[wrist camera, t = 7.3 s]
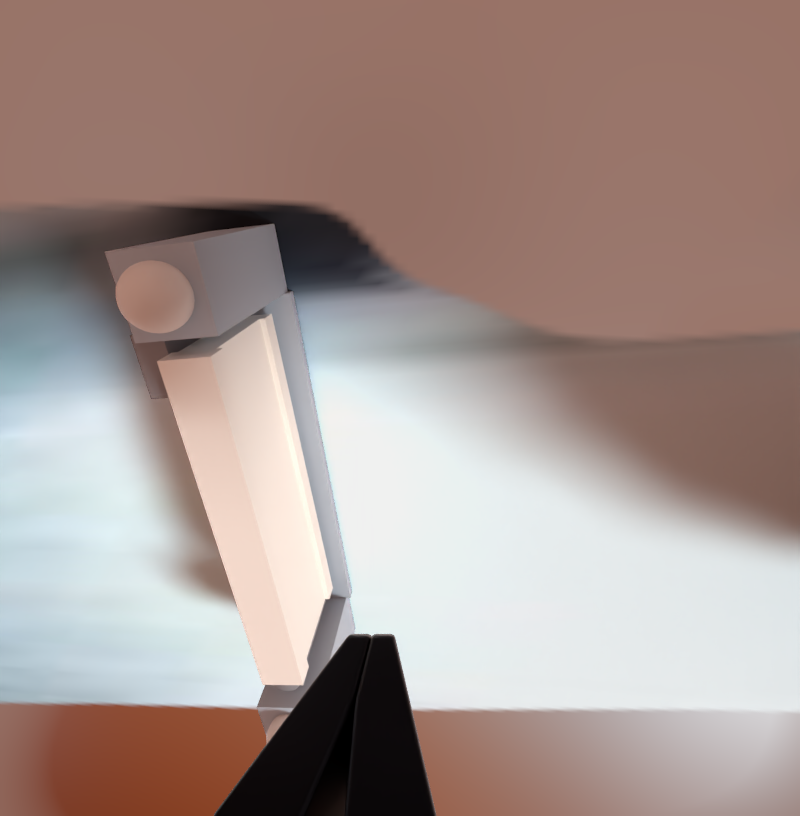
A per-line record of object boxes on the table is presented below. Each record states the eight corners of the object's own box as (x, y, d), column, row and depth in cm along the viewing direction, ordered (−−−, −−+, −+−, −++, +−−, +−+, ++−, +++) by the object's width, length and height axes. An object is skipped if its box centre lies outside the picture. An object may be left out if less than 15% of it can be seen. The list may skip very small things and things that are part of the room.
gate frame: (279, 222, 18) (175, 245, 11) (358, 627, 25) (325, 781, 19) (190, 233, 18) (40, 261, 12) (294, 627, 26) (240, 778, 19)
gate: (273, 312, 18) (210, 356, 14) (336, 594, 24) (306, 696, 19) (232, 316, 19) (157, 361, 14) (303, 594, 24) (266, 695, 19)
